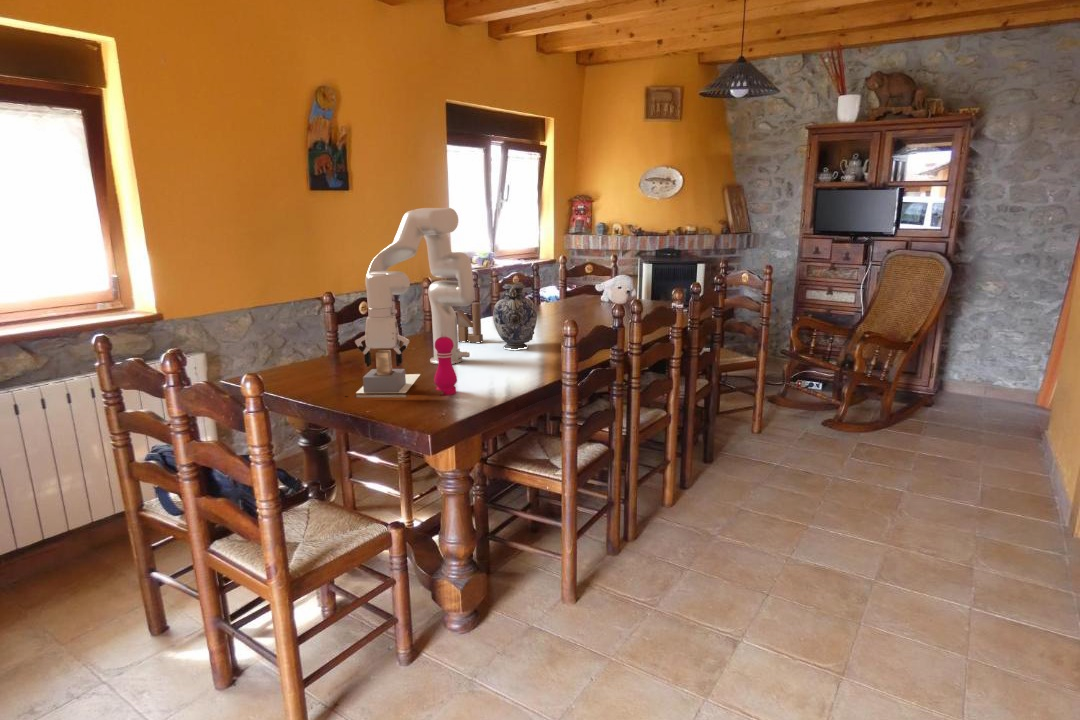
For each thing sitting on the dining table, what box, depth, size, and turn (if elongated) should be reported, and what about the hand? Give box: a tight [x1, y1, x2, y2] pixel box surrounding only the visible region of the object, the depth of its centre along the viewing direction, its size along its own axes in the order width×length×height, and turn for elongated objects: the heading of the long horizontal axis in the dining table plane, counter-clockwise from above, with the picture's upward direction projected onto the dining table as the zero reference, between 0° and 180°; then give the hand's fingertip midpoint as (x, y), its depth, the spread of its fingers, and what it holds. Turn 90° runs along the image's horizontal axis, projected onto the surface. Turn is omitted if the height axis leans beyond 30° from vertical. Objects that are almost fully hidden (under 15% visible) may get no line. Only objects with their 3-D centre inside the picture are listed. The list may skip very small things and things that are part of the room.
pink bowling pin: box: [433, 332, 458, 396], centre depth 207 cm, size 7×7×20 cm
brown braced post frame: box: [456, 302, 484, 342], centre depth 288 cm, size 4×11×18 cm, turn 69°
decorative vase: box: [492, 281, 538, 349], centre depth 274 cm, size 21×19×28 cm
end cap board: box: [355, 368, 421, 399], centre depth 215 cm, size 16×24×6 cm, turn 179°
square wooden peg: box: [375, 349, 393, 375], centre depth 209 cm, size 4×4×12 cm
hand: (383, 365), depth 208 cm, fingers open, 9 cm apart
